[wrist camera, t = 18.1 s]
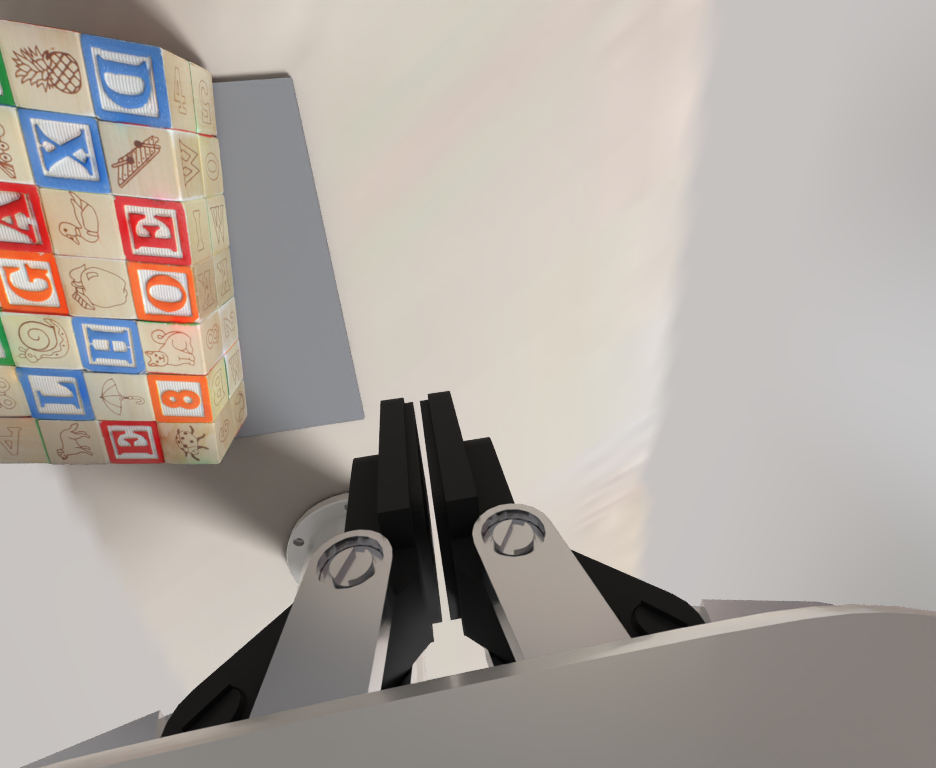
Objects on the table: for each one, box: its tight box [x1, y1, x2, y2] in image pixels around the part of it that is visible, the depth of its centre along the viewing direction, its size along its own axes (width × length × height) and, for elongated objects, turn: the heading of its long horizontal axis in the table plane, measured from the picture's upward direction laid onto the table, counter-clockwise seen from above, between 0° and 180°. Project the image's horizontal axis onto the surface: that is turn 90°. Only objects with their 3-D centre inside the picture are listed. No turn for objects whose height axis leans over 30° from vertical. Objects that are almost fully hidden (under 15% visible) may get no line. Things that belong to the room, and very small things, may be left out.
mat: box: [212, 77, 365, 439], centre depth 29 cm, size 22×16×1 cm
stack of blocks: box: [0, 19, 247, 465], centre depth 25 cm, size 21×6×12 cm
